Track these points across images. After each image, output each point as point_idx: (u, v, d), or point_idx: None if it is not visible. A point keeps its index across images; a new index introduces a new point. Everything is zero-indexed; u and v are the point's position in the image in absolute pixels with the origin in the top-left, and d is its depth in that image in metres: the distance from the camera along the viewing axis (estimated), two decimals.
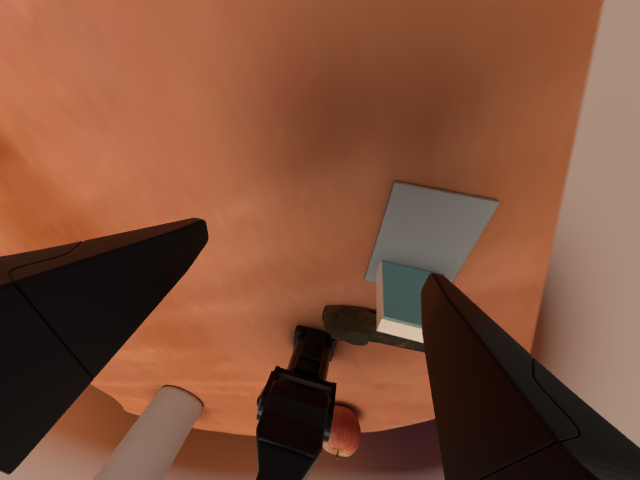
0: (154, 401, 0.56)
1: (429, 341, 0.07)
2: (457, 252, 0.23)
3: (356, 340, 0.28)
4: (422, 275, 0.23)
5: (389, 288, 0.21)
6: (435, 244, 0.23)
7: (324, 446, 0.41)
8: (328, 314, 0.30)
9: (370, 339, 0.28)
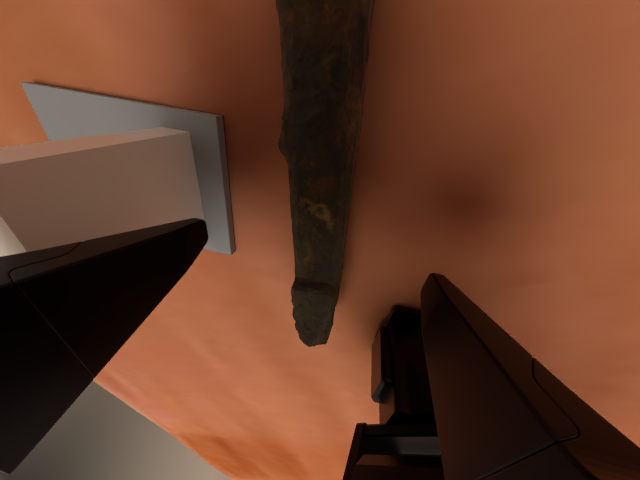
0: None
1: (429, 341, 0.07)
2: (114, 119, 0.13)
3: (315, 309, 0.12)
4: None
5: None
6: None
7: None
8: None
9: (321, 278, 0.12)
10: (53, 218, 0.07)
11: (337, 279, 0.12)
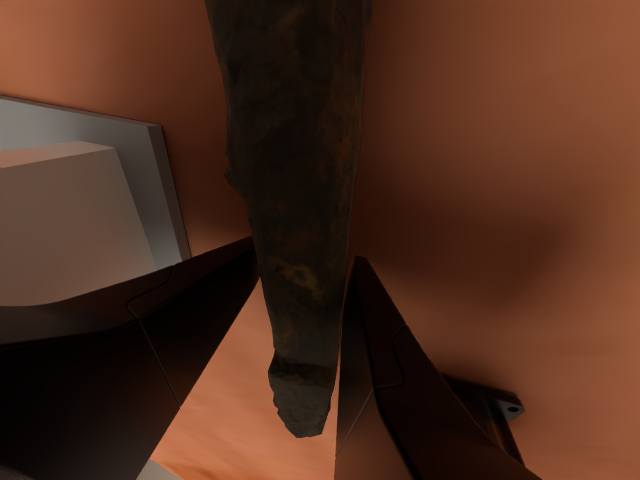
0: None
1: (344, 319, 0.07)
2: (16, 129, 0.09)
3: (303, 400, 0.09)
4: None
5: None
6: None
7: None
8: None
9: (310, 359, 0.08)
10: None
11: (333, 357, 0.09)
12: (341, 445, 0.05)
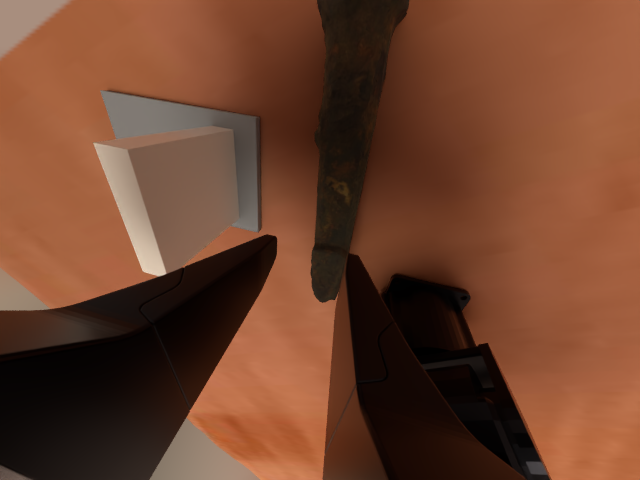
0: None
1: (336, 317, 0.07)
2: (173, 119, 0.16)
3: (330, 268, 0.16)
4: None
5: None
6: None
7: None
8: None
9: (336, 243, 0.15)
10: (159, 186, 0.11)
11: (348, 245, 0.16)
12: (329, 441, 0.05)
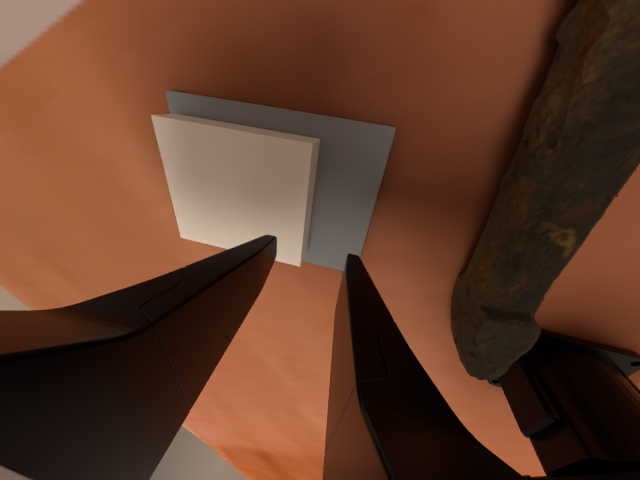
0: None
1: (336, 317, 0.07)
2: None
3: (511, 342, 0.11)
4: None
5: None
6: None
7: None
8: (456, 344, 0.15)
9: (524, 308, 0.11)
10: (177, 158, 0.12)
11: (537, 308, 0.11)
12: (329, 441, 0.05)
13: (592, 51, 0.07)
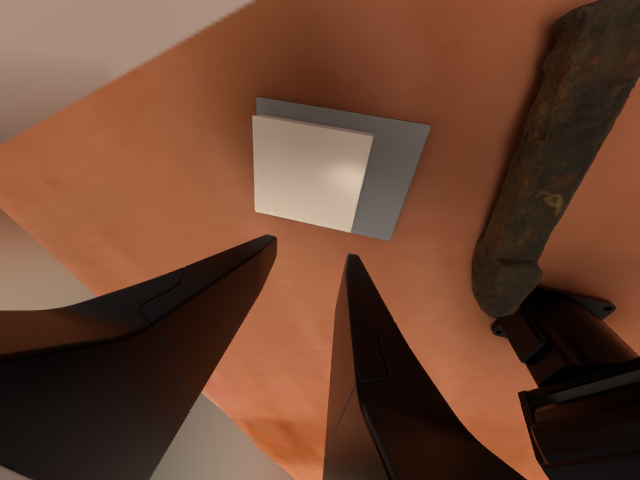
0: None
1: (336, 317, 0.07)
2: None
3: (521, 283, 0.15)
4: None
5: None
6: None
7: None
8: (477, 298, 0.19)
9: (529, 256, 0.15)
10: (266, 148, 0.16)
11: (539, 257, 0.15)
12: (329, 441, 0.05)
13: (564, 79, 0.11)
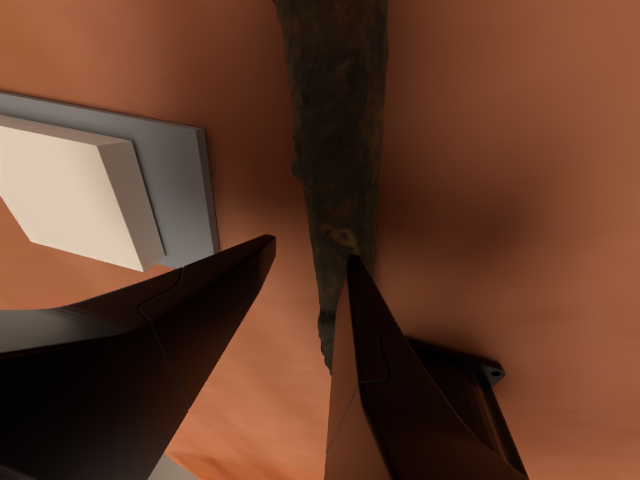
0: None
1: (337, 317, 0.07)
2: None
3: None
4: None
5: None
6: None
7: None
8: None
9: None
10: None
11: None
12: (331, 442, 0.05)
13: (286, 60, 0.07)
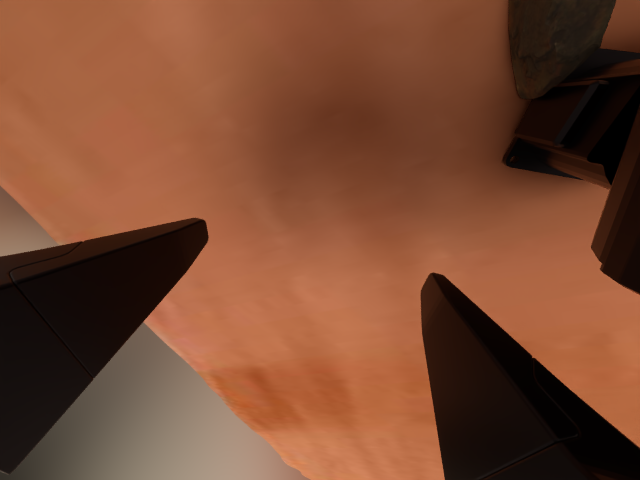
0: None
1: (429, 341, 0.07)
2: None
3: None
4: None
5: None
6: None
7: None
8: (528, 85, 0.13)
9: None
10: None
11: None
12: None
13: None
